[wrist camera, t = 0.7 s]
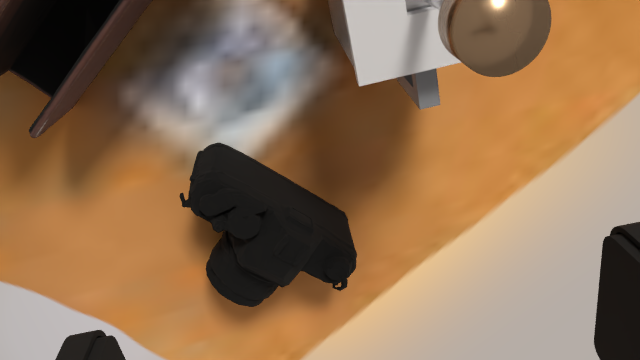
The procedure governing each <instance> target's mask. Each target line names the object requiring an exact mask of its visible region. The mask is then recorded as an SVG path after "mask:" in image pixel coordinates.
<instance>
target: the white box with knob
mask: <svg viewBox="0 0 640 360" xmlns="http://www.w3.org/2000/svg"><path fill="white" fill-rule="evenodd" d="M328 4H329V9H330V14H331V19H332V24H333V29H334V33H335V35H336V37H337V39H338V40H339V42H340V44H341V46H342V47H343V49H344V51H345V53H346V54H347V56H348V58H349V60H350V61H351V63H352V65H353V67H354V69H355V75H356V80H357V83H358V85H359V86H363V85H368V84H372V83H376V82H380V81H385V80H389V79H393V78H397V81H398V82H399V83H400V85H401V86H402V87H403V89H404V90H405V91H406V92H407V94H408V95H409V96H410V97H411V99H412V100H413V101H414V103H415V104H416V105H417V106H418V108H419V109H425V108H429V107H433V106H437V105H440V98H439V89H438V80H437V72H436V68H439V67H444V66H448V65H452V64H456V63H461V61H460V60H458V59H457V58H456V57H454V56H453V55H452V54H451V53H449V52H448V50H447V49H446V48H445V47H444V45H443V43H442V41H441V39H440V36H439V32H438V15H439V11H440V10H438V9H436V8H435V7H433V6H431V7H427V8H423V9H419V10H415V11H410V12H407V10H406V3H405V0H328Z"/></svg>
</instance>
